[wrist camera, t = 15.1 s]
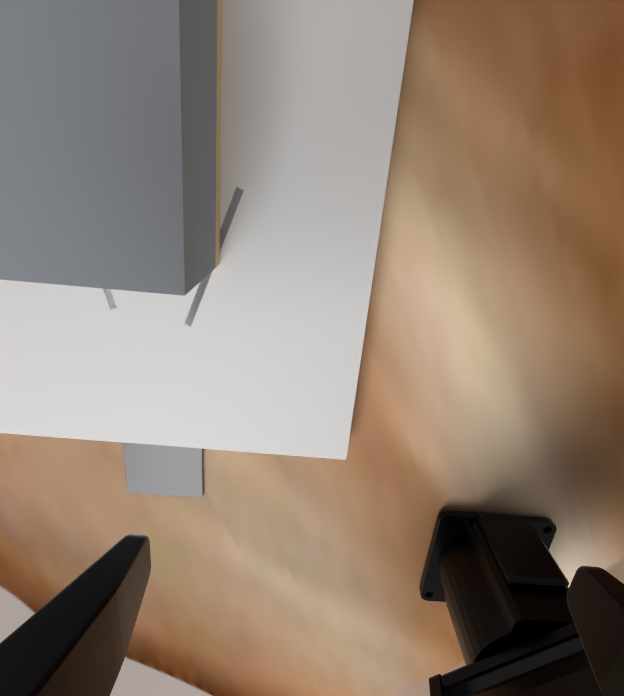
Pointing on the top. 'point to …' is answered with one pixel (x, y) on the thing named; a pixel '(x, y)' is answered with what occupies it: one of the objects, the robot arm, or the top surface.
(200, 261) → the block
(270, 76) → the board
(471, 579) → the robot arm
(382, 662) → the top surface
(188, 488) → the graphite chip
